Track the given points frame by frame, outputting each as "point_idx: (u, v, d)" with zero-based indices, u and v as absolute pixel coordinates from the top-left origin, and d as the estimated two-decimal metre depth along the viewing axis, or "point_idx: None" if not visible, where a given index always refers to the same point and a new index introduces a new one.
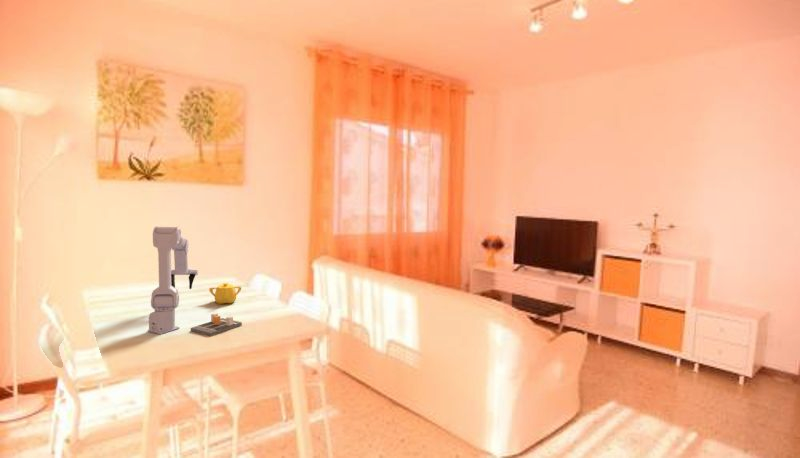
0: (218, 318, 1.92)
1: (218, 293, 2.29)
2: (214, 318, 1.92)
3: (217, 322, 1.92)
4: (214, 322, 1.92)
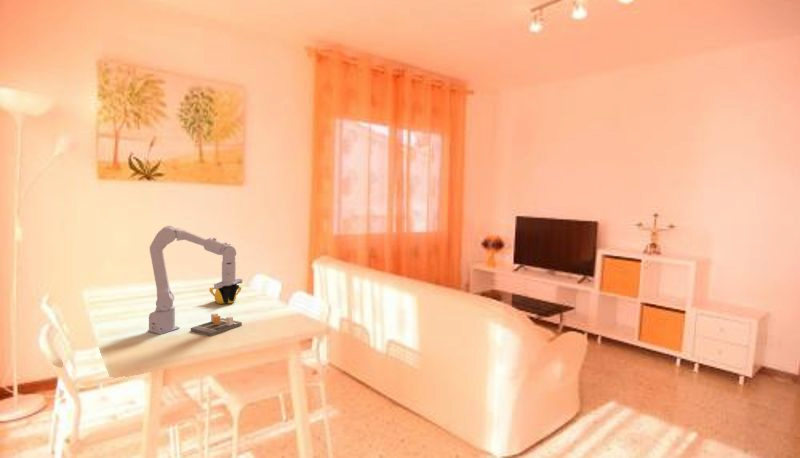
0: (218, 318, 1.92)
1: (218, 293, 2.29)
2: (214, 318, 1.92)
3: (217, 322, 1.92)
4: (214, 322, 1.92)
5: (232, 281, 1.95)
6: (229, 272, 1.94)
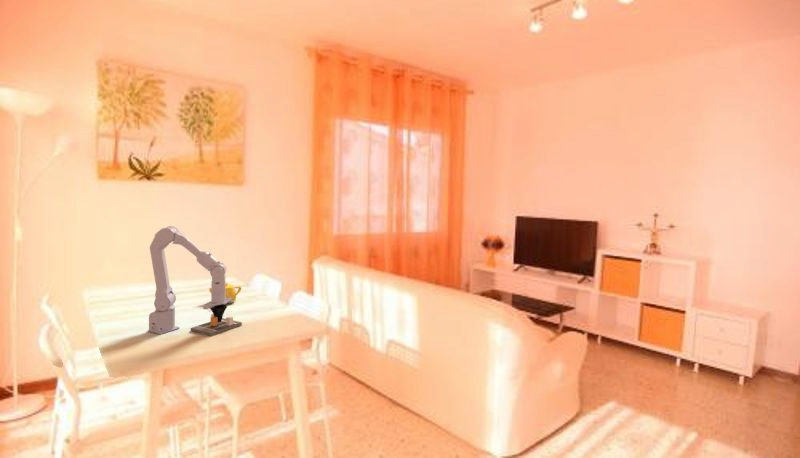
0: (215, 319, 1.91)
1: None
2: (211, 319, 1.90)
3: (214, 323, 1.90)
4: (211, 323, 1.90)
5: (222, 301, 1.91)
6: (217, 292, 1.89)
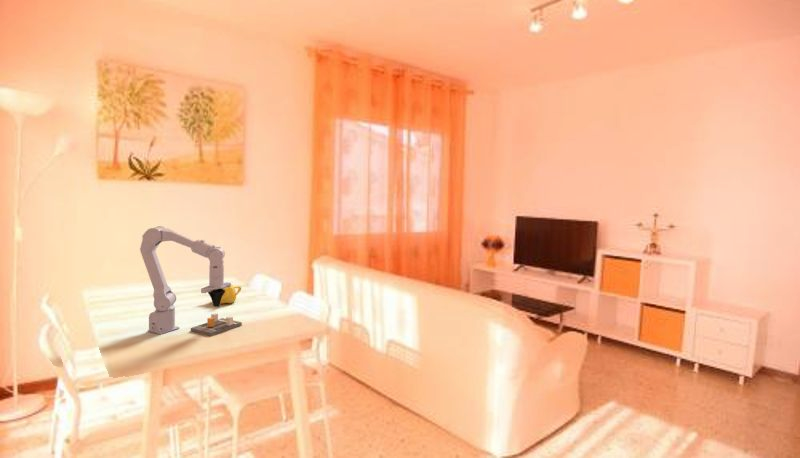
0: (212, 320, 1.89)
1: None
2: (208, 320, 1.89)
3: (211, 324, 1.89)
4: (208, 324, 1.89)
5: (220, 285, 1.89)
6: (215, 276, 1.88)
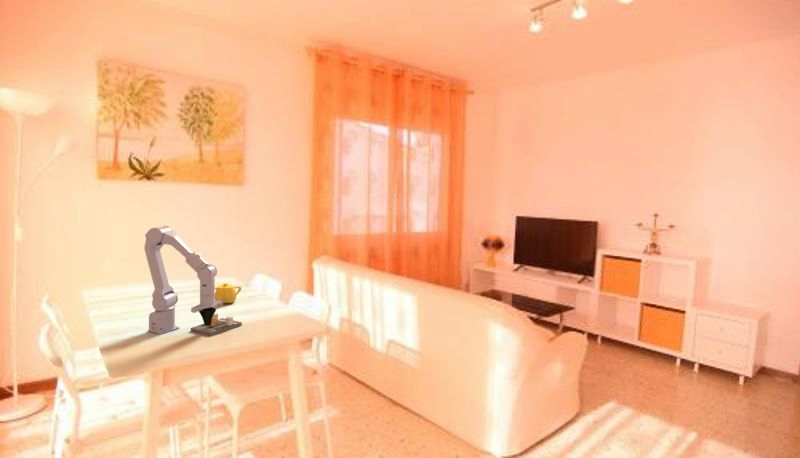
0: (213, 320, 1.89)
1: (218, 293, 2.29)
2: None
3: (212, 324, 1.89)
4: None
5: (211, 304, 1.85)
6: (204, 294, 1.84)
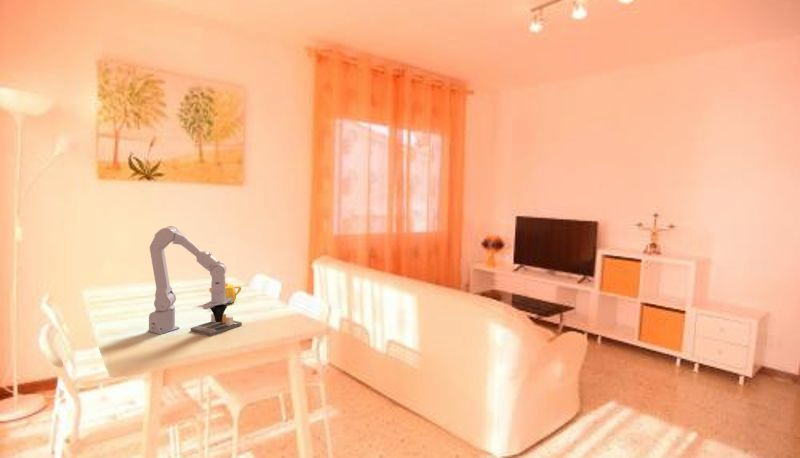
0: (224, 316, 1.95)
1: None
2: None
3: (223, 320, 1.94)
4: None
5: (222, 301, 1.91)
6: (217, 292, 1.89)
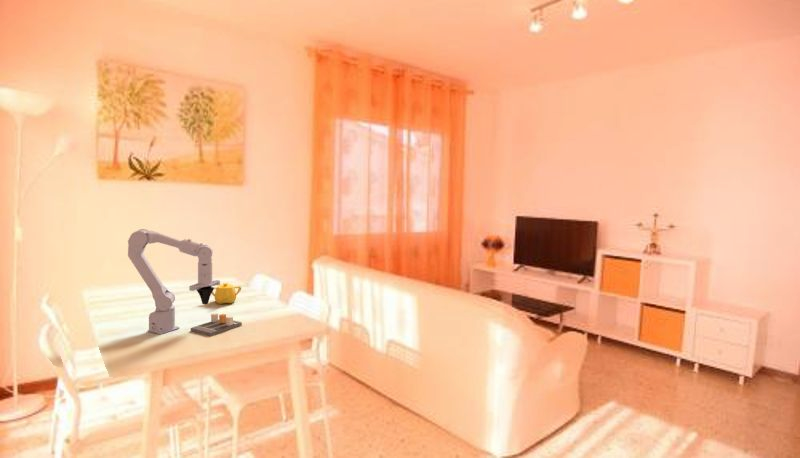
0: (224, 316, 1.95)
1: (218, 293, 2.29)
2: (220, 316, 1.95)
3: (223, 320, 1.94)
4: (220, 320, 1.95)
5: (208, 283, 1.90)
6: (205, 273, 1.89)
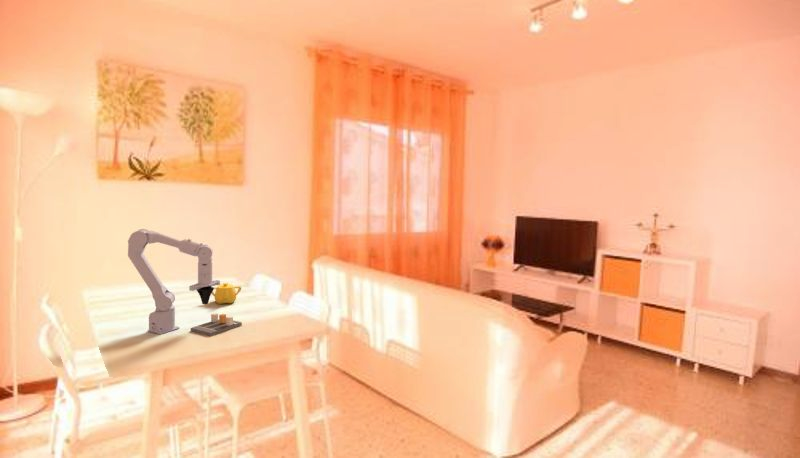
0: (224, 316, 1.95)
1: (218, 293, 2.29)
2: (220, 316, 1.95)
3: (223, 320, 1.94)
4: (220, 320, 1.95)
5: (208, 283, 1.90)
6: (205, 273, 1.89)
